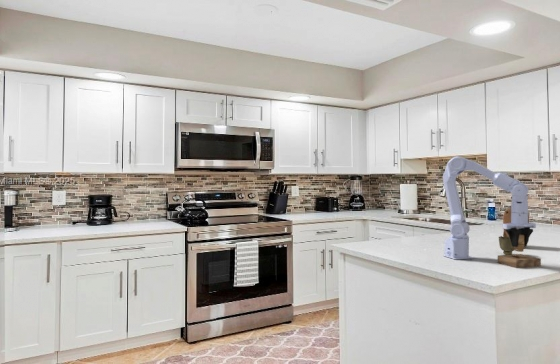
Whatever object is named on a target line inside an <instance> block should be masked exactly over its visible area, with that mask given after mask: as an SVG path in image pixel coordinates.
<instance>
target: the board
mask: <svg viewBox="0 0 560 364" xmlns="http://www.w3.org/2000/svg"><path fill="white" fill-rule="evenodd" d="M497 263H498V264H501V265H504V266H507V267H511V268H515V269H519V268H520V269H521V268H534V267H541V266H542V258H540V257H536V256H530V255H527V254H522V253H519V254H518V253H517V254H512V255H505V254H501V255H497Z"/></svg>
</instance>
